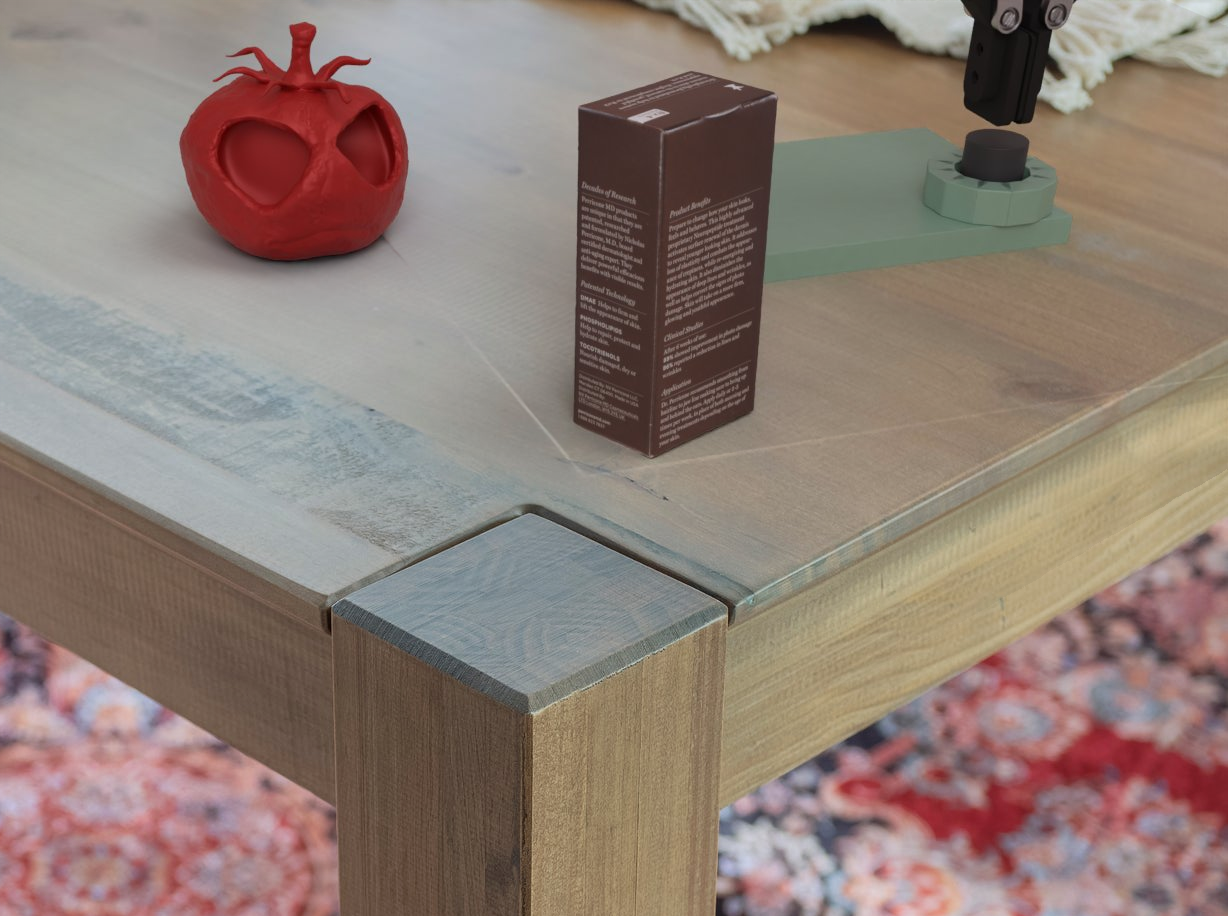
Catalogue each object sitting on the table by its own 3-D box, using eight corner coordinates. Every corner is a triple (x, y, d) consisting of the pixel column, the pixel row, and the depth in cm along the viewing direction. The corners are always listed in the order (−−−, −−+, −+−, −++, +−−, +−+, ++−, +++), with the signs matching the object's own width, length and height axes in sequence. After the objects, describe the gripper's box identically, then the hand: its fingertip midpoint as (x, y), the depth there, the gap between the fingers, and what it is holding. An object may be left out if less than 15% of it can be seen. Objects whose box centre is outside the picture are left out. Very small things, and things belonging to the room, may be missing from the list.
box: (667, 377, 75) (691, 64, 68) (756, 416, 72) (791, 94, 65) (559, 423, 71) (573, 99, 64) (648, 465, 69) (672, 131, 62)
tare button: (1000, 163, 88) (1007, 125, 86) (1034, 184, 85) (1042, 145, 84) (947, 170, 87) (954, 131, 86) (980, 190, 85) (987, 151, 84)
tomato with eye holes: (169, 210, 89) (151, 2, 83) (376, 189, 91) (372, -14, 86) (213, 290, 81) (197, 67, 75) (437, 264, 84) (437, 47, 78)
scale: (921, 154, 96) (930, 94, 95) (1072, 248, 86) (1085, 183, 85) (631, 186, 92) (635, 124, 90) (754, 290, 82) (761, 222, 80)
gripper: (967, -343, 69) (890, 159, 80) (1305, -350, 73) (1189, 127, 84) (865, -368, 74) (807, 104, 85) (1185, -373, 79) (1090, 77, 90)
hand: (996, 114), depth 85 cm, fingers closed
